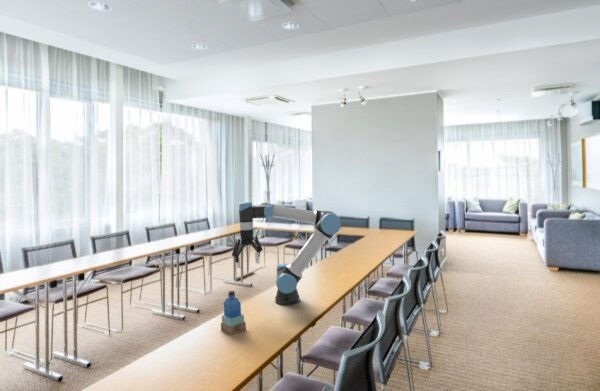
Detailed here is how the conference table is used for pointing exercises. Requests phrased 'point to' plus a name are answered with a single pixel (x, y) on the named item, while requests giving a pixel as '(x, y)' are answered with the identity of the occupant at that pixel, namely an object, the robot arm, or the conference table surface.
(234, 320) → the teal slab
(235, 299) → the perfume bottle
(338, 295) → the conference table surface
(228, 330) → the walnut slab
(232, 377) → the conference table surface
